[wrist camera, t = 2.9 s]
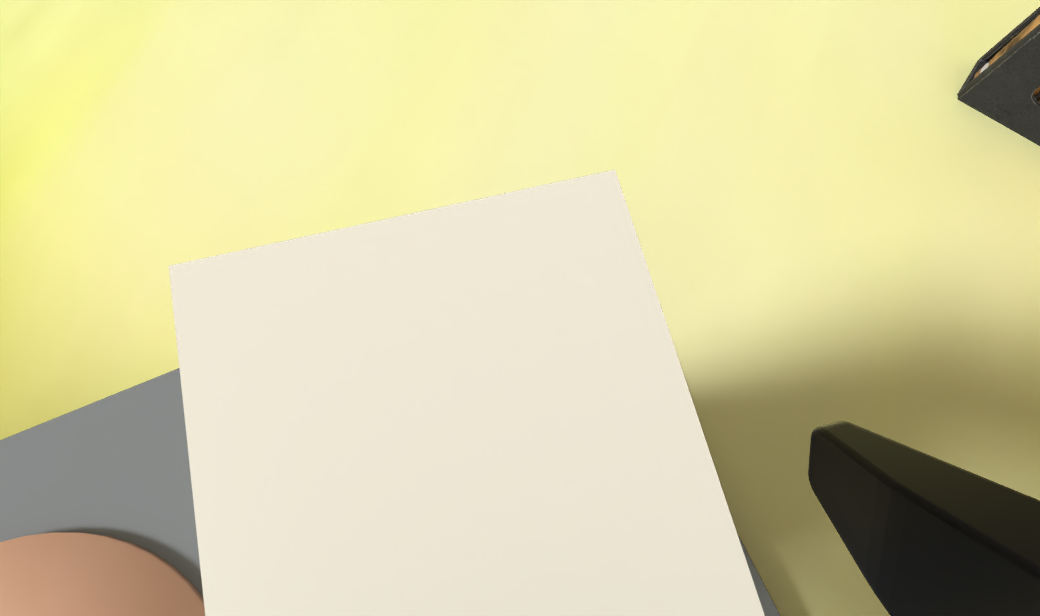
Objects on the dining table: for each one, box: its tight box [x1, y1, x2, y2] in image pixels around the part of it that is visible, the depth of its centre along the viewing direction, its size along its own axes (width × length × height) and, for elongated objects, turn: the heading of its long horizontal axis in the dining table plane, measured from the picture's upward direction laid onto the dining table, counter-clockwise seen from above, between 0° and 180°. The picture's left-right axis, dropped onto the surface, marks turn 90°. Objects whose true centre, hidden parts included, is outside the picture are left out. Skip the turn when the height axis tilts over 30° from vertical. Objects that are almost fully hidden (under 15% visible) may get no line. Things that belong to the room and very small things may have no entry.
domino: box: [169, 170, 765, 616], centre depth 10 cm, size 4×3×13 cm
